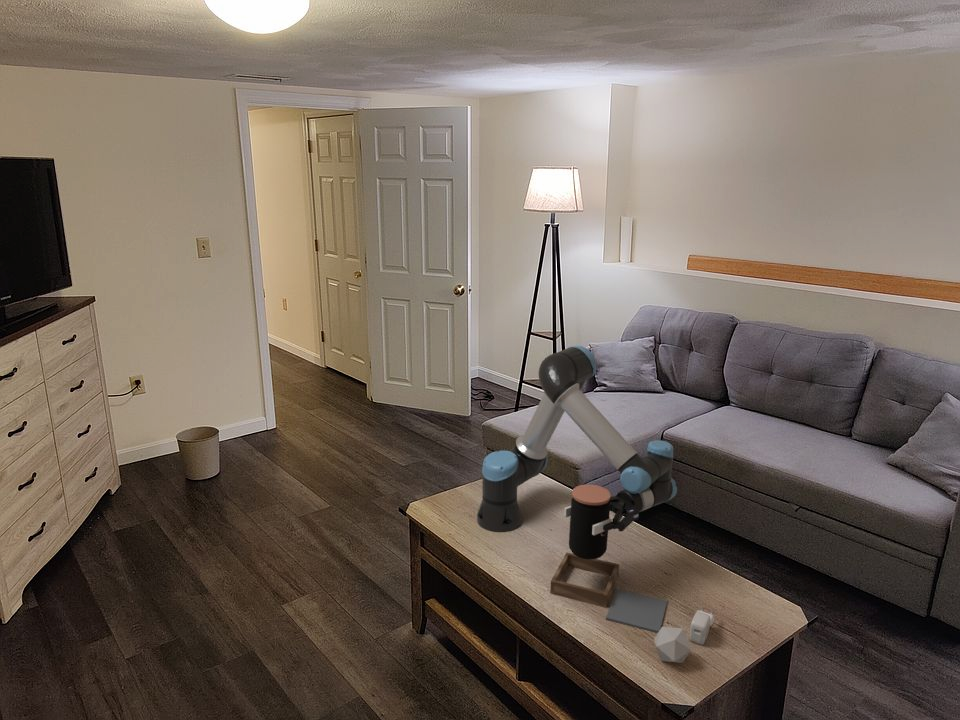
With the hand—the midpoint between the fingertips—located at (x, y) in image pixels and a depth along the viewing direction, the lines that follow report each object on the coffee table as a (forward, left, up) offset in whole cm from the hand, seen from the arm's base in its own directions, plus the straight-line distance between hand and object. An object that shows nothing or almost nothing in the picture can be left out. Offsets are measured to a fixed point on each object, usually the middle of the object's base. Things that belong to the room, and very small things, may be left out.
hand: (578, 521), depth 187 cm
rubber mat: (+2, +18, -22) cm, 28 cm away
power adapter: (+4, +35, -22) cm, 42 cm away
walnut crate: (-4, +2, -22) cm, 22 cm away
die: (+17, +29, -22) cm, 40 cm away
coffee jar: (-3, +2, -11) cm, 11 cm away
